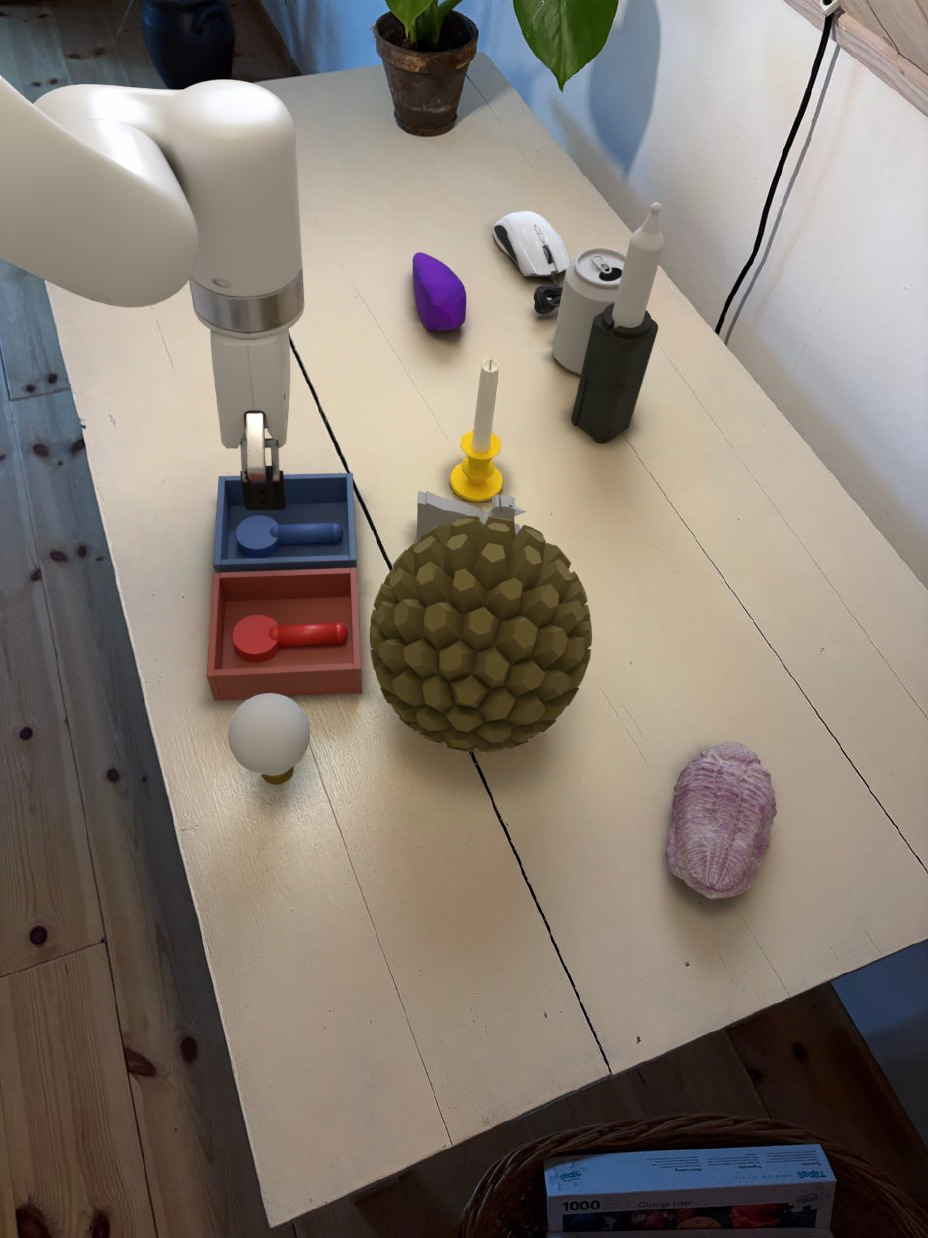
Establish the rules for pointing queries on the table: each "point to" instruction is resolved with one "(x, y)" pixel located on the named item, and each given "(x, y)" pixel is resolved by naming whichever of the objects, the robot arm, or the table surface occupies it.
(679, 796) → the fossil
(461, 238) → the table surface
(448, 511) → the grey flat angular piece
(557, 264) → the computer mouse
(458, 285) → the crystal
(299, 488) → the blue bin
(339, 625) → the red ping pong paddle
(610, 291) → the can
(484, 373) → the candle
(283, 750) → the light bulb
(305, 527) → the blue spoon
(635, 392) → the candle
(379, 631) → the decorative object
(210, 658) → the red bin
